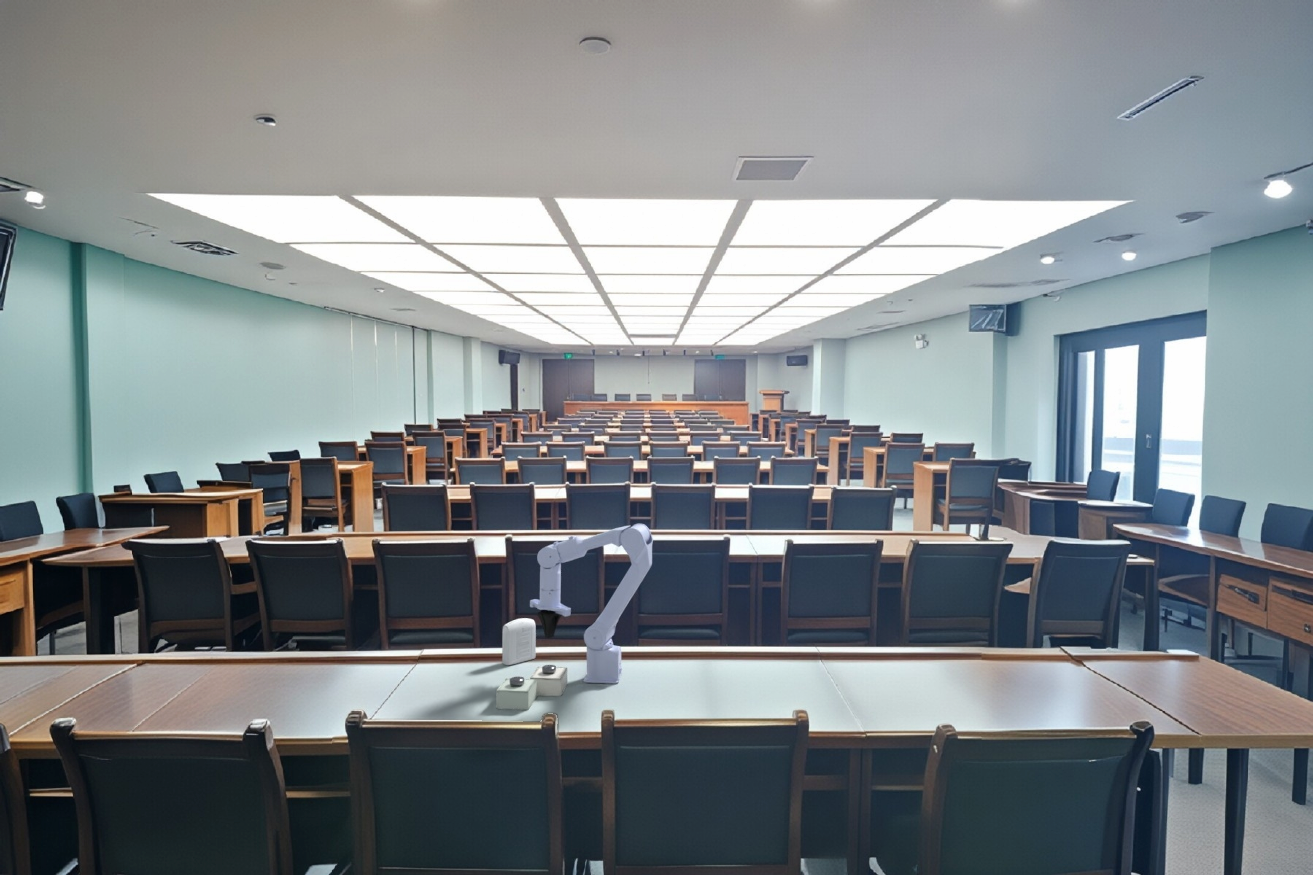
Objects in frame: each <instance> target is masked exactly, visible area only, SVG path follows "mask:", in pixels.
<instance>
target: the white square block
mask: <svg viewBox="0 0 1313 875" xmlns="http://www.w3.org/2000/svg"><path fill="white" fill-rule="evenodd" d="M542 667H543V666H537V668H535V670H534V671H533V673H532V674H531V676H530V677H529V679H537V696H546V697H547V696H548V697H549V696H552V697H561V696H562V695H563V693H564V691H565V689H566V687H567V686H568V667H559V666H556V672H554V673H551V674H547V673H543V672H542Z"/></svg>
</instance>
